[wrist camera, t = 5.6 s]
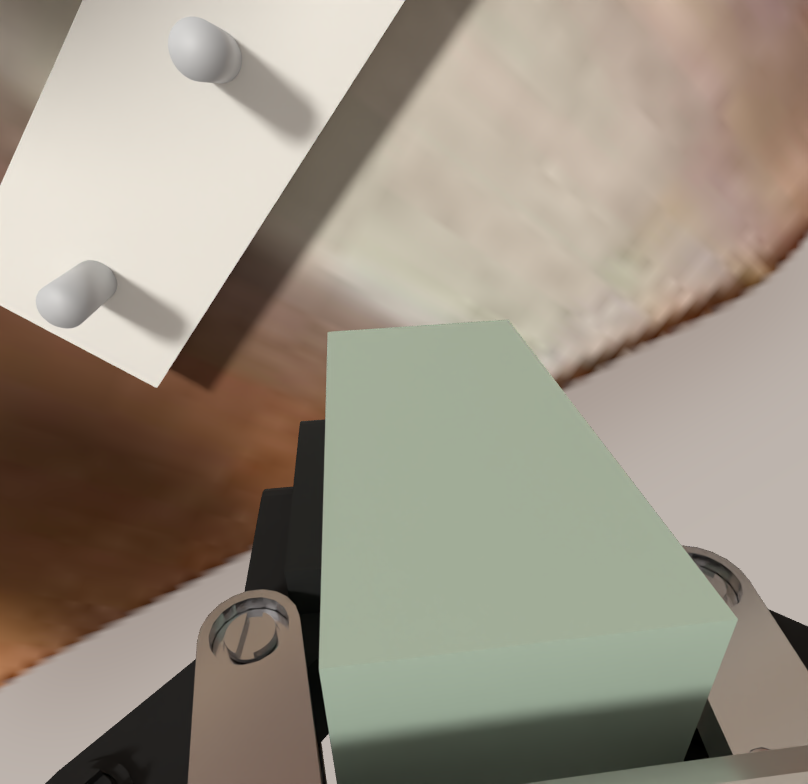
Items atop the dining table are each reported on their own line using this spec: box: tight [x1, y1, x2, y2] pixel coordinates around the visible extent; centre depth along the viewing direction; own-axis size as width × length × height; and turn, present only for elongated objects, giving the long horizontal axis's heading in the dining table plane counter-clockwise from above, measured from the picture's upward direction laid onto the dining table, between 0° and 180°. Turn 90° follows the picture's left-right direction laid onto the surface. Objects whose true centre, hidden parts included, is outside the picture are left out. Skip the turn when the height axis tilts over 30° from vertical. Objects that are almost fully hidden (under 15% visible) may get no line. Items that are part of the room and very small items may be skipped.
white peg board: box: [0, 0, 405, 388], centre depth 18 cm, size 25×8×5 cm, turn 142°
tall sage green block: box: [319, 320, 738, 784], centre depth 9 cm, size 6×4×7 cm, turn 2°
